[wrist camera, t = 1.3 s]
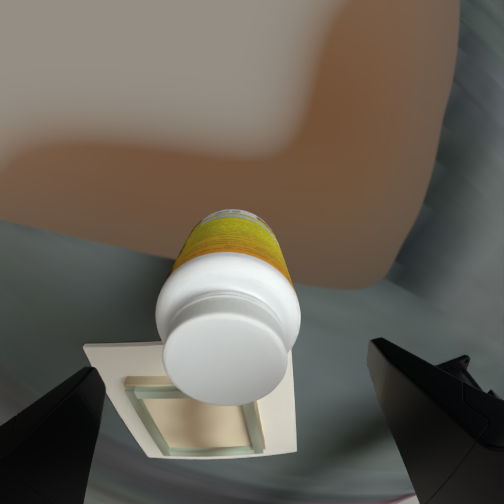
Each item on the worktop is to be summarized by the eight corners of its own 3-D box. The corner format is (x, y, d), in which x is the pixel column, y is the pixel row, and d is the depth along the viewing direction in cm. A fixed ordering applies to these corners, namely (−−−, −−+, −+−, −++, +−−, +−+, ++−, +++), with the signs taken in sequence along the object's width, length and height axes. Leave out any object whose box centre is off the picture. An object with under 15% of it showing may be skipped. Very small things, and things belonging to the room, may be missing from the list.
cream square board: (288, 327, 20) (289, 331, 20) (296, 447, 26) (296, 451, 25) (85, 343, 21) (82, 347, 20) (149, 453, 26) (148, 457, 26)
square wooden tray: (251, 369, 21) (252, 384, 19) (264, 441, 24) (266, 454, 23) (127, 376, 21) (121, 389, 20) (164, 444, 24) (162, 456, 23)
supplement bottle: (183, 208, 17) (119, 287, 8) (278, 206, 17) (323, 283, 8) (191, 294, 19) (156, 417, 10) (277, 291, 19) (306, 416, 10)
